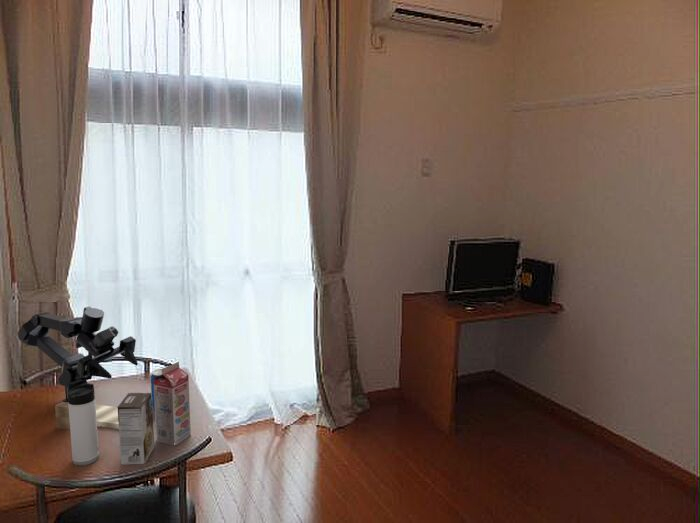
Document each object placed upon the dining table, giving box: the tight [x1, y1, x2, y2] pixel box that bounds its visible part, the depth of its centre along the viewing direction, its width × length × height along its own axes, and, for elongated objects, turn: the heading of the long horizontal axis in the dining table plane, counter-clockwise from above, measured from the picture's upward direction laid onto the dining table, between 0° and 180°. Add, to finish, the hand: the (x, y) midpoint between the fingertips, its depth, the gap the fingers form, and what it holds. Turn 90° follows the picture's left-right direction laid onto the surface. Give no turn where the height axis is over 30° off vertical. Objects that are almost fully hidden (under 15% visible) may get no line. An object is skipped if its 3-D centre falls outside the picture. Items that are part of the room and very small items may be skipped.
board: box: [96, 404, 119, 430], centre depth 162 cm, size 22×10×2 cm, turn 77°
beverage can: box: [150, 368, 162, 409], centre depth 170 cm, size 6×6×12 cm
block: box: [54, 401, 70, 431], centre depth 161 cm, size 4×12×7 cm, turn 167°
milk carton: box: [153, 361, 192, 447], centre depth 149 cm, size 7×7×22 cm
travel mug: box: [68, 382, 100, 466], centre depth 137 cm, size 6×7×20 cm
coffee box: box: [116, 392, 155, 465], centre depth 140 cm, size 9×6×16 cm
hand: (124, 370), depth 162 cm, fingers open, 9 cm apart
